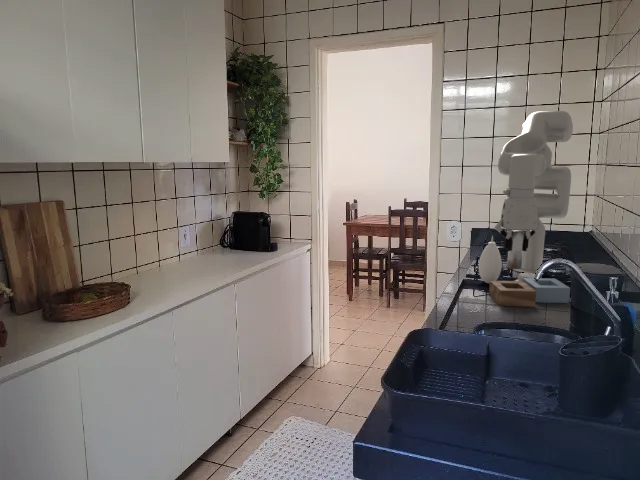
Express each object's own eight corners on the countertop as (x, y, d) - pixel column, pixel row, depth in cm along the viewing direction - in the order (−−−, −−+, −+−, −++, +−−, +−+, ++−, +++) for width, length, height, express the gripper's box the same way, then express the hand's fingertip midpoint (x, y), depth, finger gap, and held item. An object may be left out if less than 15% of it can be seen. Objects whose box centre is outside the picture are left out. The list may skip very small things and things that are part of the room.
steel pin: (504, 265, 154) (507, 229, 151) (518, 265, 153) (521, 229, 151) (509, 269, 149) (512, 232, 147) (523, 269, 149) (526, 232, 147)
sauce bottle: (482, 278, 178) (485, 232, 175) (502, 282, 173) (507, 235, 170) (474, 283, 172) (477, 235, 169) (495, 287, 168) (499, 238, 164)
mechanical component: (516, 289, 166) (547, 291, 164) (518, 277, 165) (548, 279, 163) (511, 281, 175) (540, 283, 173) (512, 270, 174) (541, 272, 172)
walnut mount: (488, 294, 159) (489, 280, 158) (521, 295, 158) (522, 281, 157) (499, 305, 148) (500, 290, 147) (534, 306, 148) (536, 291, 147)
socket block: (521, 291, 162) (522, 278, 161) (553, 292, 162) (554, 278, 161) (534, 302, 152) (535, 287, 151) (568, 302, 151) (570, 288, 150)
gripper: (497, 195, 143) (492, 252, 147) (553, 195, 142) (547, 253, 146) (489, 192, 150) (485, 247, 154) (542, 192, 150) (537, 247, 154)
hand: (515, 249), depth 150 cm, fingers closed on steel pin, 4 cm apart
